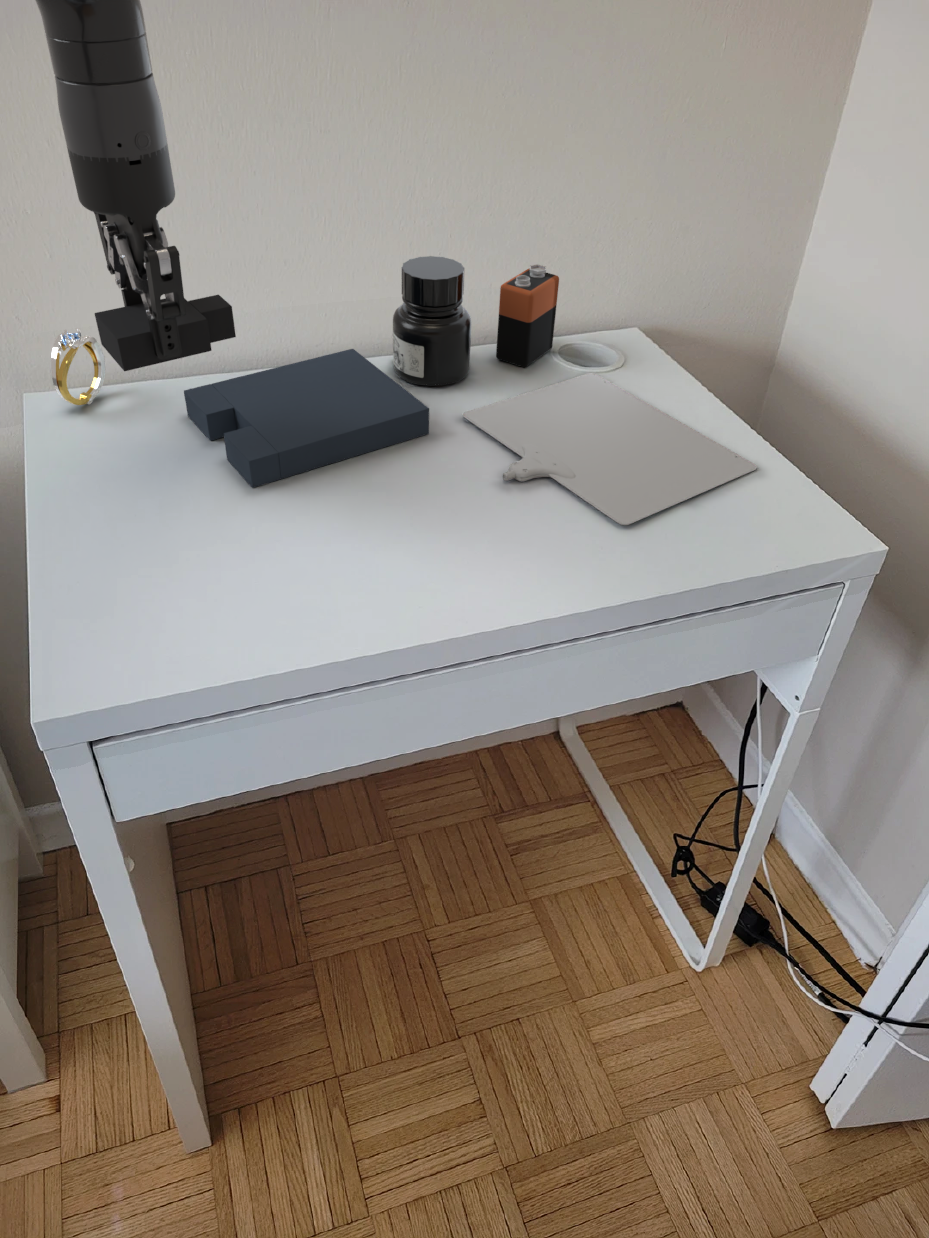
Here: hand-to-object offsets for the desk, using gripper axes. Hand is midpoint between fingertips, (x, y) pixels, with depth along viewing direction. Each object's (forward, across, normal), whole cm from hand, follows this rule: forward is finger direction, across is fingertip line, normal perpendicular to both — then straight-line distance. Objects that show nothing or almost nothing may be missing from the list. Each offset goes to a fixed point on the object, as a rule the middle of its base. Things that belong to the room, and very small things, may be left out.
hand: (155, 341), depth 85 cm
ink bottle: (+13, -4, +32) cm, 35 cm away
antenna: (+13, +19, +37) cm, 44 cm away
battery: (+13, -2, +44) cm, 46 cm away
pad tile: (+1, 0, +2) cm, 2 cm away
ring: (+13, -16, -4) cm, 21 cm away
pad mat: (+13, 0, +14) cm, 19 cm away
